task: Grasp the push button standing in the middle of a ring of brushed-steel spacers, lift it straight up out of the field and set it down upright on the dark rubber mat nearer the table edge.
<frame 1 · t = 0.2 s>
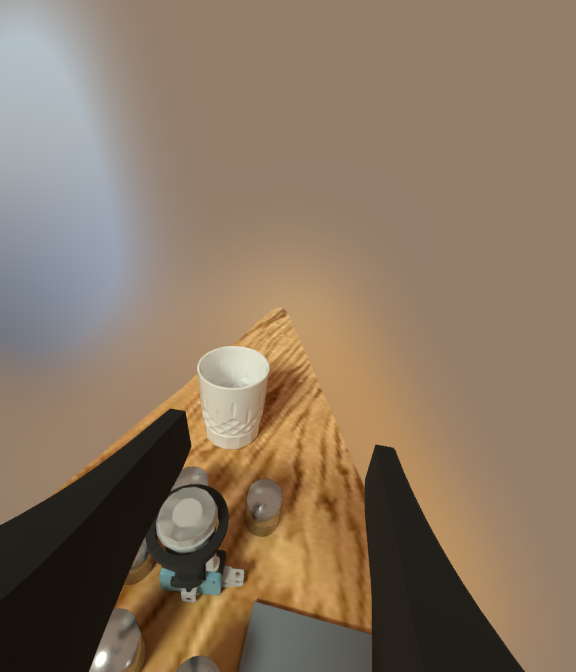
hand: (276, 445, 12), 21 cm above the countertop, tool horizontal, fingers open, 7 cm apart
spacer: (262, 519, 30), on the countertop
push button: (202, 582, 26), on the countertop
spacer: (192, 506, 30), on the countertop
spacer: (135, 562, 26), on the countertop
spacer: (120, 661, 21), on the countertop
white cup: (232, 429, 39), on the countertop
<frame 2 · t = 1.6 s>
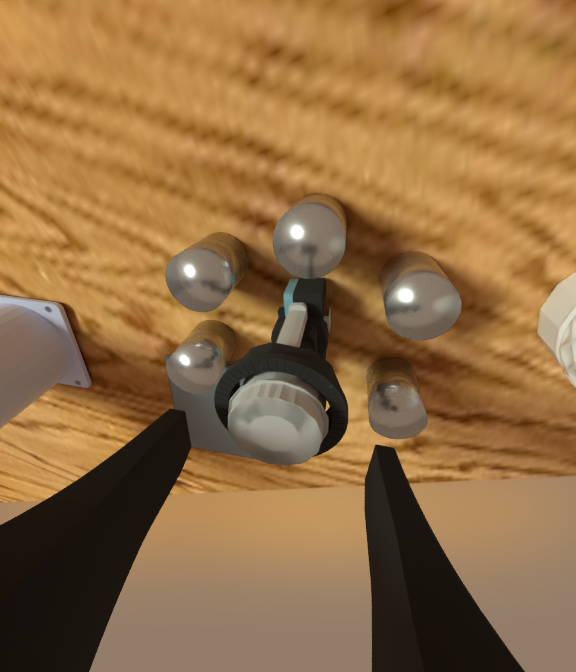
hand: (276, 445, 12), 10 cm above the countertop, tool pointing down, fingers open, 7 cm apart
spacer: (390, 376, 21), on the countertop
push button: (308, 319, 20), on the countertop
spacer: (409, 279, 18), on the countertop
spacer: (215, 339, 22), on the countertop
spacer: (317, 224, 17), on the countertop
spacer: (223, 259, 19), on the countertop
mat: (232, 412, 26), on the countertop
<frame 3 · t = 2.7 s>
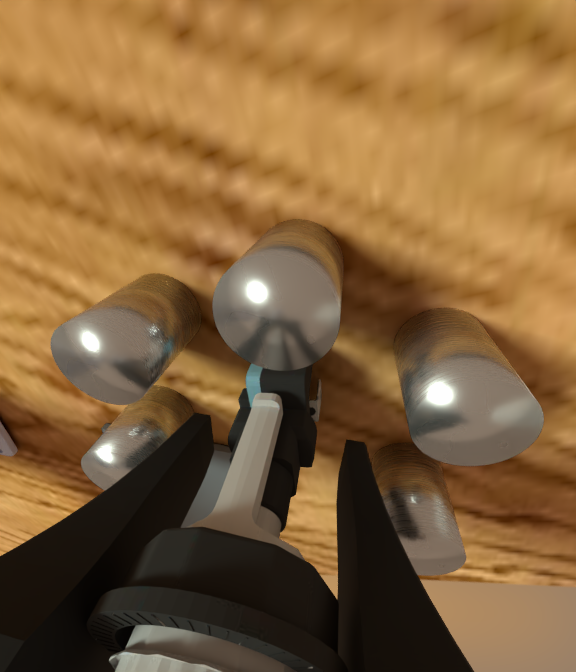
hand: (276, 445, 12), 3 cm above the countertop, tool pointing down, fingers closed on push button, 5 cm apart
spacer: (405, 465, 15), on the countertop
push button: (289, 390, 14), on the countertop, touching gripper
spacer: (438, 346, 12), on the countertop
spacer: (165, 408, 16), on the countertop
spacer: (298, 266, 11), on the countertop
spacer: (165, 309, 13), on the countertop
mat: (197, 490, 20), on the countertop
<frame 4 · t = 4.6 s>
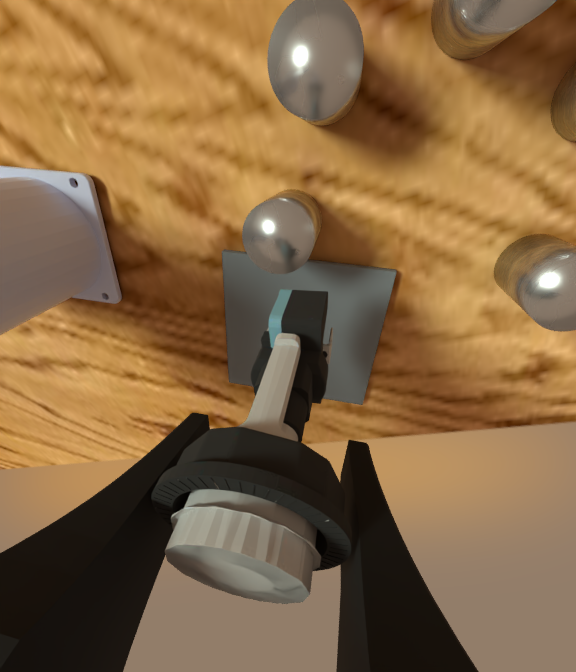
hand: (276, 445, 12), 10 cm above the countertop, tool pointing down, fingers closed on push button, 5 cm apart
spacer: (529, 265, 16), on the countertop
push button: (303, 338, 16), point 4 cm above the countertop, touching gripper
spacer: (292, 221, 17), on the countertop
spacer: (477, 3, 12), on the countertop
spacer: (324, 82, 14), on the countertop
mat: (300, 332, 20), on the countertop
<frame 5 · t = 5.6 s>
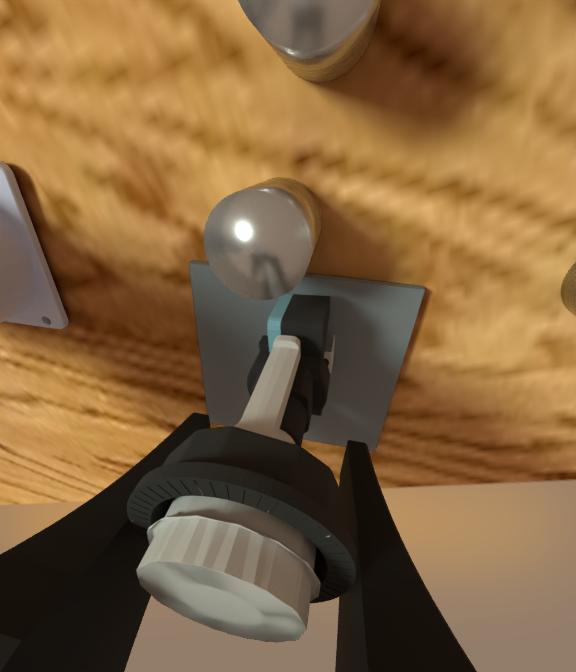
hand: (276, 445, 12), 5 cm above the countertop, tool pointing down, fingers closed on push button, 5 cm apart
push button: (303, 347, 15), resting on mat, touching gripper
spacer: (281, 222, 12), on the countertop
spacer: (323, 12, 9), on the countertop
mat: (295, 365, 16), on the countertop
when the fingers open (4 cm above the countertop, at t = 6.4 s): push button stays where it is, resting on mat.
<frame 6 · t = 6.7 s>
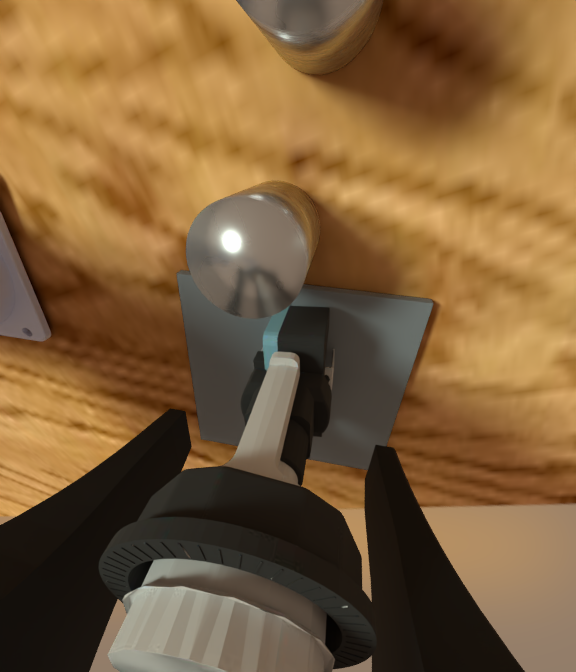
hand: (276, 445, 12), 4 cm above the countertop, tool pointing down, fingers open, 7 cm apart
push button: (300, 361, 14), resting on mat
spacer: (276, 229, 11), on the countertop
mat: (292, 381, 15), on the countertop
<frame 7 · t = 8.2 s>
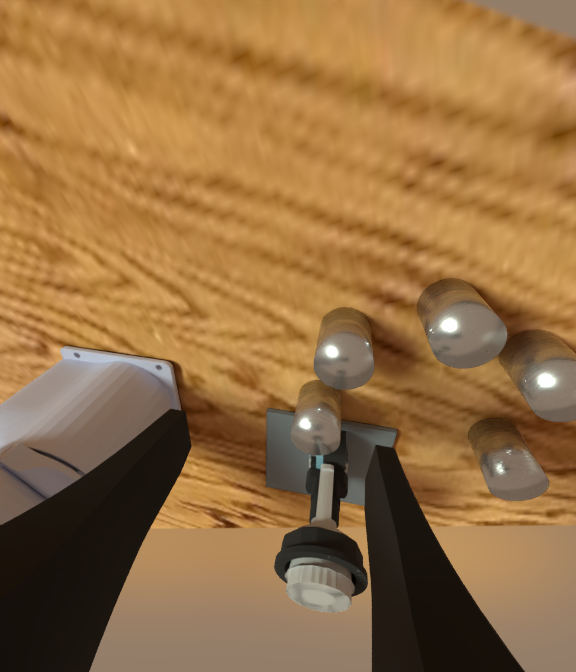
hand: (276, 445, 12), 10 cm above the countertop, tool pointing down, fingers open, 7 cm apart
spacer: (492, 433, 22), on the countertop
push button: (329, 451, 26), resting on mat
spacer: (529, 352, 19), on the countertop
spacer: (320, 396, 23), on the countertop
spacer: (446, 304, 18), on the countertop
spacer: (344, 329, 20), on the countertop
mat: (323, 459, 27), on the countertop
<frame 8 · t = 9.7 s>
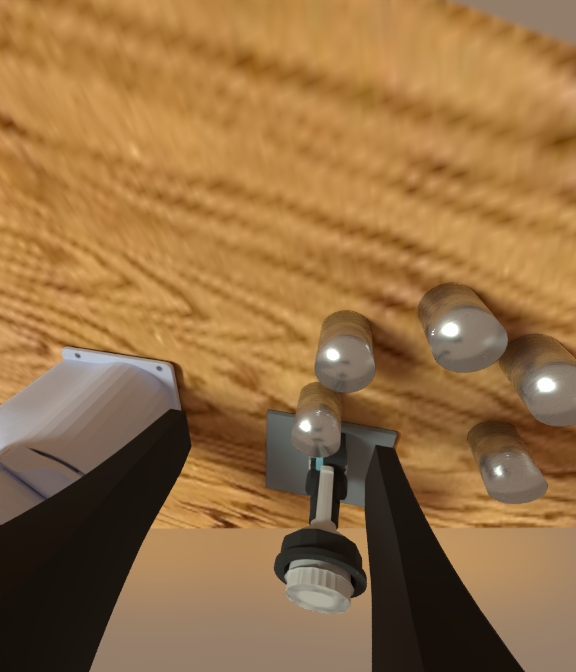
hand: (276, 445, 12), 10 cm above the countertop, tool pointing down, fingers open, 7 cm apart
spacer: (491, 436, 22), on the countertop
push button: (329, 453, 26), resting on mat
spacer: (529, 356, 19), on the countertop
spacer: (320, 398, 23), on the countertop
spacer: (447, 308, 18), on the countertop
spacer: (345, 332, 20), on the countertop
mat: (323, 460, 27), on the countertop
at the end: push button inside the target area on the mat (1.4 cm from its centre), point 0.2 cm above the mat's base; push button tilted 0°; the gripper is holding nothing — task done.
